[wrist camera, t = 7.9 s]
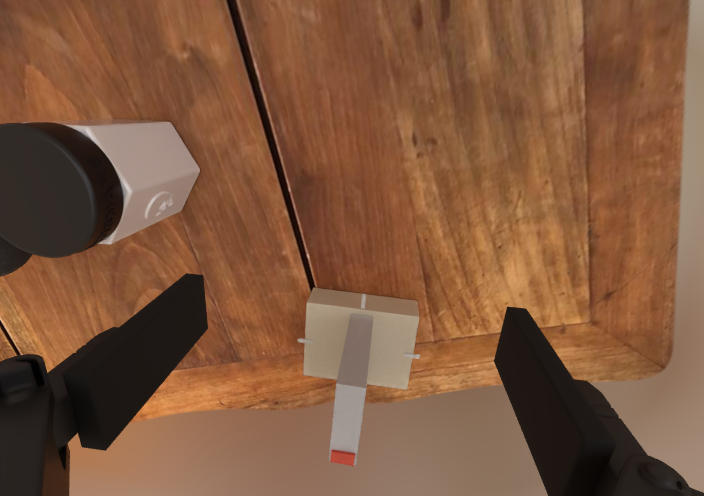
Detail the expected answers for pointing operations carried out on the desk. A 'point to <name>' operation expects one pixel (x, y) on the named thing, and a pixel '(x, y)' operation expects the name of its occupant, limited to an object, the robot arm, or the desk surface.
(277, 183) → the desk surface
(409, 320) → the panel
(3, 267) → the light bulb
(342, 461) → the tap handle
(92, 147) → the jar
